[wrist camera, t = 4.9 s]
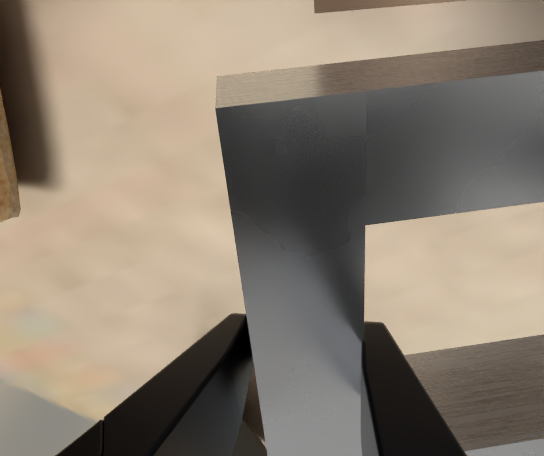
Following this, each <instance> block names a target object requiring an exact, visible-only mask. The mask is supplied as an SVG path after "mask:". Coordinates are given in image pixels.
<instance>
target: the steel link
mask: <svg viewBox="0 0 544 456" xmlns="http://www.w3.org/2000/svg"><path fill="white" fill-rule="evenodd" d="M215 109H216V116H217V123H218V129H219V136H220V143H221V149H222V156H223V163H224V169H225V176H226V183H227V189H228V196H229V203H230V209H231V216H232V223H233V229H234V236H235V243H236V249H237V256H238V263H239V269H240V276H241V283H242V289H243V296H244V303H245V309H246V316H247V323H248V329H249V336H250V343H251V349H252V356H253V363H254V369H255V376H256V383H257V389H258V396H259V403H260V409H261V416H262V423H263V429H264V436H265V443H266V449H267V456H362V447H361V423H360V422H361V344H362V341H363V340H364V271H365V225H371V224H378V223H386V222H394V221H401V220H409V219H416V218H424V217H431V216H439V215H447V214H454V213H462V212H469V211H477V210H485V209H492V208H500V207H507V206H515V205H522V204H530V203H538V202H544V40H542V41H533V42H524V43H515V44H506V45H497V46H488V47H479V48H470V49H461V50H452V51H443V52H434V53H424V54H415V55H406V56H397V57H388V58H379V59H370V60H361V61H352V62H343V63H334V64H325V65H316V66H307V67H298V68H289V69H280V70H271V71H262V72H253V73H244V74H235V75H226V76H217V87H216V106H215ZM404 356H405V358H406V359H407V361H408V362H409V364H410V366H411V367H412V369H413V370H414V372H415V374H416V375H417V377H418V378H419V380H420V381H421V383H422V385H423V386H424V388H425V389H426V391H427V393H428V394H429V396H430V397H431V399H432V400H433V402H434V404H435V405H436V407H437V408H438V410H439V412H440V413H441V415H442V416H443V418H444V420H445V421H446V423H447V424H448V426H449V427H450V429H451V431H452V432H453V434H454V435H455V437H456V439H457V440H458V442H459V443H460V445H461V447H462V448H463V450H464V451H465V453H466V454H467V456H544V335H537V336H531V337H524V338H517V339H511V340H504V341H497V342H490V343H484V344H477V345H470V346H464V347H457V348H450V349H444V350H437V351H430V352H424V353H417V354H410V355H404Z"/></svg>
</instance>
